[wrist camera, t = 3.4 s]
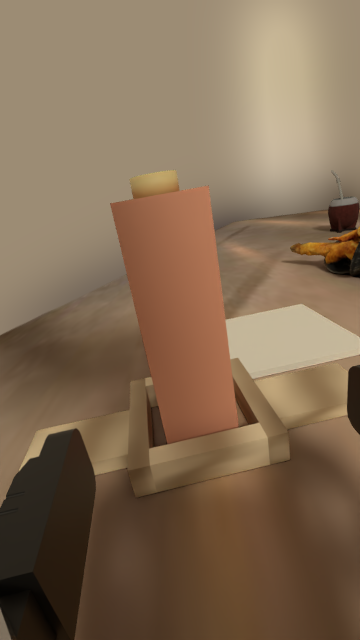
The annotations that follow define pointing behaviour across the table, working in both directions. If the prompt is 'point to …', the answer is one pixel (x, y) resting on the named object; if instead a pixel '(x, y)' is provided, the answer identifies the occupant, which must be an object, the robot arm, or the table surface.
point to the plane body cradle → (214, 449)
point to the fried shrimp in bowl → (336, 253)
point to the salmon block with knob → (178, 303)
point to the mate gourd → (343, 211)
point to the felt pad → (287, 340)
